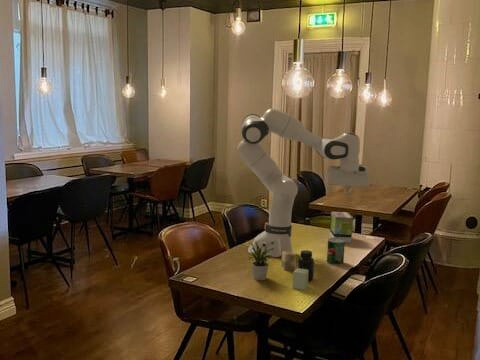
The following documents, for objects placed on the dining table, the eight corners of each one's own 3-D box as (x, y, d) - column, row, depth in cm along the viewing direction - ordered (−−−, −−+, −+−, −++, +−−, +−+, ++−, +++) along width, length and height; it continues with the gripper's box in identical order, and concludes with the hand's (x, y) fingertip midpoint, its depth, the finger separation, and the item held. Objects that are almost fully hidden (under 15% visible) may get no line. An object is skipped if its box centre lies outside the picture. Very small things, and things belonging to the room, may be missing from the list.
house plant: (233, 278, 202) (234, 240, 200) (250, 269, 213) (252, 234, 211) (262, 286, 194) (264, 247, 192) (279, 276, 206) (280, 240, 203)
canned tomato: (346, 263, 228) (348, 240, 226) (337, 266, 222) (338, 243, 221) (332, 258, 233) (334, 237, 232) (323, 262, 228) (324, 239, 226)
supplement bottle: (302, 275, 209) (303, 248, 207) (316, 278, 205) (317, 251, 203) (294, 279, 204) (295, 251, 202) (308, 283, 199) (309, 255, 198)
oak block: (284, 269, 215) (285, 254, 214) (281, 266, 220) (282, 251, 219) (295, 269, 216) (295, 254, 215) (292, 265, 221) (292, 251, 220)
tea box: (351, 243, 262) (353, 217, 259) (333, 243, 262) (335, 216, 260) (346, 236, 276) (348, 211, 274) (329, 236, 277) (330, 210, 275)
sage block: (292, 288, 193) (293, 271, 192) (295, 284, 198) (296, 268, 197) (304, 290, 191) (305, 273, 190) (307, 286, 196) (308, 269, 195)
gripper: (327, 166, 230) (325, 194, 232) (371, 168, 226) (368, 197, 228) (327, 164, 236) (325, 192, 238) (370, 167, 233) (368, 195, 235)
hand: (347, 194), depth 233 cm, fingers closed
